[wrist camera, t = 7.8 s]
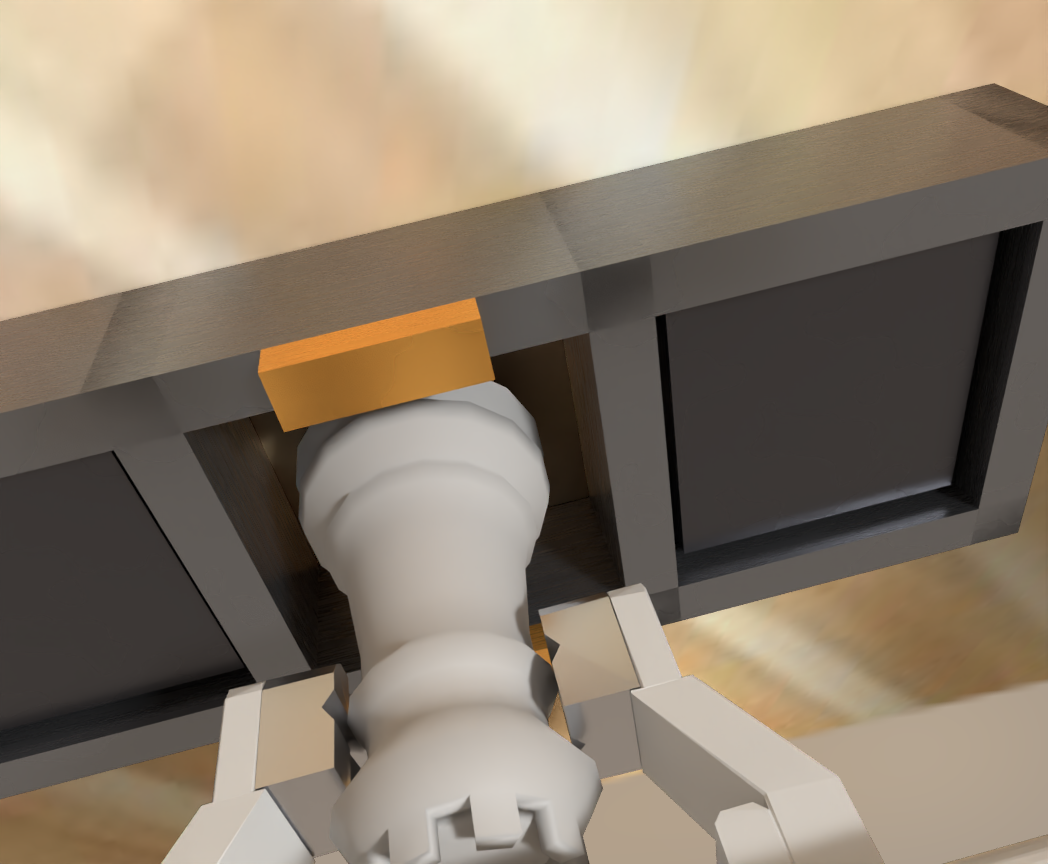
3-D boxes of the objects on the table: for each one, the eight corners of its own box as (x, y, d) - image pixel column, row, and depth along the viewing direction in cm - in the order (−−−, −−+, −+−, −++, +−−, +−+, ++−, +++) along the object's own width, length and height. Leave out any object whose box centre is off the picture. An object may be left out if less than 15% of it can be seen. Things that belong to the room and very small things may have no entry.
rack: (994, 83, 14) (1157, 152, 12) (933, 442, 19) (1037, 553, 16) (-310, 396, 14) (-481, 554, 11) (-26, 688, 18) (-92, 850, 16)
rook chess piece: (244, 418, 14) (176, 894, 8) (478, 307, 14) (598, 719, 8) (373, 573, 17) (396, 1020, 11) (572, 483, 17) (718, 896, 10)
